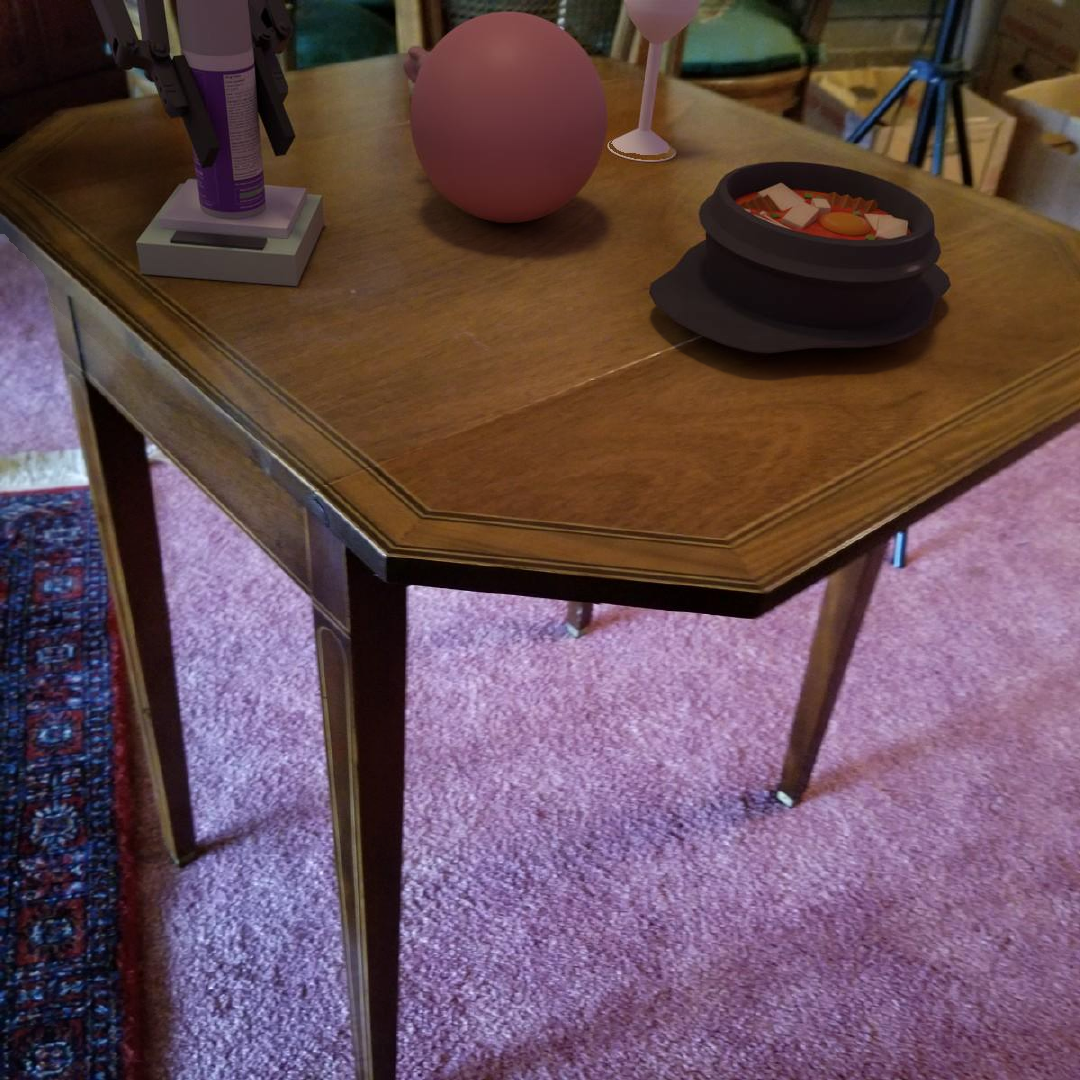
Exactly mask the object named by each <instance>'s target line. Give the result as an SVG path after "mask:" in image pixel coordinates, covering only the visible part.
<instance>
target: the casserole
mask: <svg viewBox="0 0 1080 1080" xmlns="http://www.w3.org/2000/svg"><path fill="white" fill-rule="evenodd" d="M698 218H699V222H700V224H701V226H702V228H703V229H704V231H705V239H704V240H701V241H700V242H697V244H695V245H693V246H691V247H690V248H688V250H687V251H686V252H685V253H684V254H683V256H682V257H681V258H680V259H679V260H678V262H677V263H676V264H675V265H674V267H673V268H671V269H670V270H668V271H667V272H665V273H664V274H662V275H660V276H659V277H658V278H657V279H655V280H653V281H652V282H651V283H650V286H649V289H648V293H649V295H650V297H651V299H652V301H653V303H654V304H655V305H656V306H657V307H658V308H659V309H660V310H661V311H662V312H663V313H664V314H665V315H666V316H668V317H669V318H670V319H672V320H673V321H674V322H676V323H677V324H679V325H680V326H681V327H683V328H686V329H688V330H690V331H691V332H693V333H695V334H697V335H699V336H701V337H704V338H706V339H708V340H711V341H714V342H715V343H719V344H721V345H724V346H727V347H730V348H733V349H737V350H740V351H744V352H747V353H752V354H766V355H767V354H776V353H784V352H791V351H799V350H801V351H802V350H808V349H864V348H871V347H878V346H886V345H891V344H894V343H897V342H900V341H904V340H906V339H909V338H912V337H913V336H915V335H917V334H918V333H921V332H922V331H923V330H924V329H925V328H926V327H927V326H928V325H929V324H930V323H931V321H932V318H933V314H934V312H935V308H936V305H937V302H938V301H939V300H940V299H941V298H943V296H944V295H946V293H947V291H949V289H950V288H951V287H952V284H951V280H950V276H949V274H947V273H946V272H945V271H944V270H943V269H942V268H941V267H940V266H939V265H938V264H937V262H938V261H939V259H940V256H941V254H942V250H941V243H940V241H939V239H938V237H937V236H936V233H935V230H936V229H935V228H936V227H935V218H934V213H933V211H932V210H931V207H930V206H929V205H928V204H927V203H926V202H925V201H923V200H922V199H921V198H920V196H917V195H916V194H915V193H913V192H911V191H910V190H908V189H906V188H904V187H902V186H901V185H898V184H896V183H894V182H892V181H889V180H886V179H883V178H881V177H878V176H876V175H872V174H869V173H866V172H862V171H859V170H855V169H851V168H846V167H842V166H837V165H832V164H831V165H830V164H825V163H816V162H804V161H767V162H758V163H751V164H747V165H743V166H741V167H738V168H735V169H733V170H731V171H729V172H728V173H726V174H724V176H722V178H721V179H720V180H719V182H718V183H717V185H716V187H715V189H714V191H713V193H712V194H711V195H709V196H707V198H706V199H705V200H704V201H703V202H702V203H701V204H700V207H699V209H698Z"/></svg>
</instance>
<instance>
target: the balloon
mask: <svg viewBox="0 0 1080 1080" xmlns="http://www.w3.org/2000/svg"><path fill="white" fill-rule="evenodd" d="M579 43H580V42H578V41H577V40H576V39H575V38H574V37H572V36H571V35H570V34H569V33H568V32H567V31H565V30H564V29H563V28H561V27H560V26H558V25H557V24H555V23H553V22H551V21H550V20H548V19H545V18H543V17H540V16H537V15H535V14H531V13H526V12H522V11H521V12H519V11H495V12H489V13H485V14H481V15H478V16H476V17H473V18H471V19H468V20H466V21H463V22H462V23H461V24H459V25H457V26H456V27H454V28H453V29H452V30H450V31H449V32H448V33H447V34H445V35H444V36H443V37H442V38H441V39H440V40H439V41H438V42H437V43H436V45H435V46H434V47H433V48H432V49H431V51H427V50H425V49H424V48H423V47H421V46H420V45H412V46H411V47H409V48H408V50H407V53H408V55H409V56H408V57H407V58H405V60H404V62H403V66H402V67H403V71H404V73H405V75H406V77H407V78H408V80H409V79H410V80H411V81H412V82H413V83H414V84H415V85H414V89H413V94H412V96H411V100H410V110H409V121H410V122H409V125H410V132H411V139H412V143H413V146H414V150H415V154H416V156H417V158H418V161H419V163H420V165H421V167H422V169H423V171H424V173H425V175H426V176H427V178H428V179H429V181H430V182H431V183H432V185H433V186H434V187H435V188H436V190H437V192H439V193H440V194H441V195H442V196H443V197H444V198H445V199H446V200H447V201H449V202H450V203H451V204H452V205H454V206H455V207H457V208H458V209H460V210H462V211H463V212H465V213H467V214H469V215H471V216H473V217H476V218H479V219H481V220H485V221H489V222H493V223H502V224H518V223H525V222H526V223H527V222H531V221H535V220H537V219H541V218H543V217H546V216H548V215H550V214H552V213H554V212H556V211H557V210H559V209H561V208H562V207H565V205H566V204H568V203H569V202H571V201H572V200H573V199H574V198H575V197H576V196H577V195H578V194H579V193H580V192H581V191H582V190H583V188H584V187H585V186H586V185H587V183H588V182H589V180H590V179H591V177H592V175H593V174H594V172H595V170H596V168H597V166H598V164H599V161H600V160H601V157H602V155H603V154H602V153H603V151H604V147H605V143H606V138H607V131H608V104H607V99H606V94H605V90H604V86H603V82H602V79H601V77H600V75H599V72H598V70H597V69H596V66H595V64H594V62H593V61H592V60H591V57H590V56H589V54H588V53H587V52H586V50H585V49H584V48H583V47H582V46H581V44H579Z"/></svg>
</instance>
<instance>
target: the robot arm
mask: <svg viewBox="0 0 1080 1080" xmlns="http://www.w3.org/2000/svg"><path fill="white" fill-rule="evenodd" d="M90 2H91V3H92V6H93V9H94V11H95V14H96V16H97V20H98V21H99V24H100V27H101V29H102V33H103V34H104V37H105V40H106V41H107V44H108V46H109V49H110V51H111V54H112V56H113V60H114V62H115V64H116V66H117V67H119V68H120V69H121V70H124V71H130V70H132V69H133V68H134V69H138V70H141V71H142V70H143V75H144V77H145V78H146V80H148V82H150V83H153V84H154V86H155V88H156V91H157V93H158V96H159V99H160V101H161V104H162V107H163V109H164V111H165V112H166V114H167V115H168V117H169V118H170V119H177V118H181V119H182V121H183V124H184V126H185V127H184V128H185V129H186V132H187V134H188V137H189V139H190V142H191V145H193V146H192V148H193V147H194V150H195V152H196V155H197V157H198V160H199V163H200V165H201V168H207V167H212V166H213V164H214V162H215V159H216V157H217V155H218V152H219V150H220V148H221V147H220V145H219V142H218V139H217V137H216V134H215V132H214V129H213V127H212V124H211V122H210V119H209V116H208V114H207V111H206V109H205V106H204V104H203V101H202V99H201V96H200V93H199V91H198V88H197V86H196V83H195V81H194V78H193V75H192V73H191V70H190V68H189V65H188V63H187V60H186V58H185V55H181V54H179V55H173V56H172V57H171V44H170V37H169V30H168V23H167V15H166V7H165V0H136V7H137V12H138V13H137V14H138V20H139V29H140V35H141V39H139V37H138V35H137V32H136V30H135V26H134V24H133V21H132V19H131V17H130V14H129V12H128V9H127V6H126V4H125V1H124V0H90ZM248 9H249V18H250V28H251V37H252V46H253V55H254V65H255V77H256V89H257V101H258V114H259V119H260V120H261V123H262V125H263V128H264V131H265V133H266V135H267V139H268V141H269V144H270V146H271V148H272V151H273V154H274V157H281V156H286V155H287V153H288V151H289V150H290V148H291V146H292V144H293V141H294V140H295V139H296V137H297V135H296V133H295V131H294V128H293V126H292V123H291V120H290V117H289V115H288V113H287V112H288V111H287V110H286V107H285V105H284V102H285V101H286V98H287V96H288V95H289V85H288V82H287V80H286V77H285V74H284V72H283V70H282V67H281V64H280V61H279V59H278V56H277V55H281V54H283V53H284V52H285V49H286V47H287V45H288V43H289V41H290V39H291V37H292V35H293V33H294V25H293V22H292V20H291V17H290V15H289V11H288V9H287V6H286V4H285V2H284V0H248Z"/></svg>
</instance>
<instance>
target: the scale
mask: <svg viewBox="0 0 1080 1080" xmlns="http://www.w3.org/2000/svg"><path fill="white" fill-rule="evenodd" d="M264 187H265V199H266V208H265V210H264V211H263V212H261V213H260V214H258V215H255V216H253V217H249V218H243V219H222V218H216V217H213V216H210V215H207V214H206V213H204V212H203V211H202V210H201V208H200V201H199V194H198V186H197V178H196V179H195V178H188V179H187V180H186V181H185V182H184V183H179V184H178V186H176V187H175V189H174V191H173V192H172V193H171V195H170V196H169V197H168V198H167V200H166V202H165V203H164V204H163V205H162V207H161V208H160V210H159V211H158V212H157V213H156V215H155V216H154V217H153V219H152V220H151V221H150V223H149V224H148V225H147V227H146V228H145V230H144V231H143V232H142V234H141V235H140V236H139V238H137V240H136V242H135V245H136V251H137V257H138V258H137V259H138V264H139V270H140V274H141V275H147V276H160V277H161V276H162V277H172V278H173V277H175V278H187V279H199V280H201V279H202V280H211V281H224V282H225V281H226V282H237V283H249V284H262V285H263V284H264V285H276V286H285V287H286V286H288V287H298V285H299V282H300V280H301V279H302V275H303V273H304V271H305V268H306V266H307V264H308V262H309V261H310V260H309V259H310V257H311V256H312V255H311V254H312V253H313V250H314V248H315V246H316V244H317V241H318V239H319V236H320V234H321V232H322V229H323V227H324V224H325V219H324V217H325V215H324V199H323V198H324V197H323V194H313V193H308V189H307V188H305V187H297V186H296V187H293V186H283V185H270V184H264Z"/></svg>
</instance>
